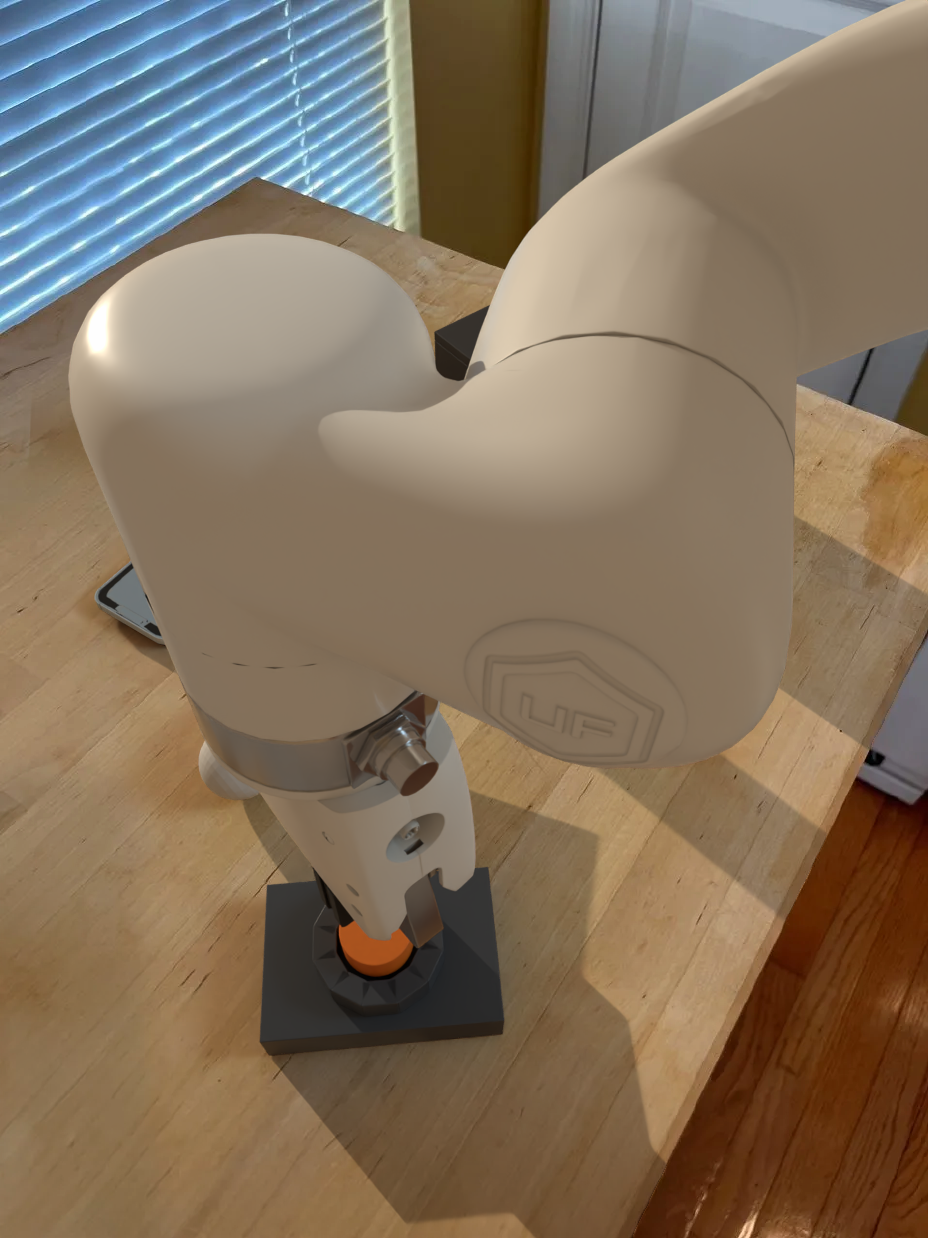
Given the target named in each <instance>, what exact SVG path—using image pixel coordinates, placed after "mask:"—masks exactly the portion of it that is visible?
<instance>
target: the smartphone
mask: <svg viewBox="0 0 928 1238" xmlns="http://www.w3.org/2000/svg"><path fill="white" fill-rule="evenodd" d="M94 601H95V603H96V605H97V607H98V608H99V610H101V611H103V612H104V613H106V614H107V615H109V616H111V617H113V618H114V619H116V620H118V621H119V622H121V623H123V624H124V625H126V626H128V627H129V628H131V629H133V630H135V631H137V632H138V633H140V634H141V635H143V636H144V637H146V638H148V639H150V640H151V641H153V642H155V643H156V644H158V645H165V642H164V640H163V638H162V635H161V633H160V631H159V628H158V626H157V623H156V621H155V619H154V616H153V614H152V611H151V609H150V607H149V604H148V602H147V599H146V597H145V594H144V591H143V589H142V586H141V584H140V582H139V579H138V577H137V574H136V572H135V570H134V567H133V565H132V562H131V560H130V561H129V562H128V563H126V564H125V565H124V566H123V567H122V568H121V569H119V570H118V571H117V572H116V573H114V574H113V576H111V577H110V578H109V579H107V581H106V582H104V583H103V584H102V585H101V586H100V587H98V588H97V589H96V591H95V593H94Z"/></svg>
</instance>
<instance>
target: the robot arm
mask: <svg viewBox="0 0 928 1238" xmlns="http://www.w3.org/2000/svg"><path fill="white" fill-rule="evenodd" d="M489 305H490V307H489V310H488V312H487V315H486V317H485V320H484V323H483V325H482V328H481V331H480V333H479V336H478V339H477V342H476V345H475V348H474V351H473V354H472V357H471V360H470V363H469V366H468V369H467V373H466V376H465V379H464V380H462V381H455V380H451V379H447V378H444V377H443V376H441V375H440V374H439V372H438V371H437V369H436V364H435V349H434V347H433V344H432V343H433V342H432V340H431V337H430V333H429V330H428V328H427V325H426V323H425V321H424V319H423V318H422V316H421V314H420V312H419V310H418V308H417V306H416V304H415V302H414V300H413V299H412V297H411V296H410V295H409V294H408V293H407V292H406V291H405V290H404V289H403V288H402V287H401V286H400V284H398V283H397V282H396V280H395V279H394V278H393V277H392V276H391V275H390V274H389V273H388V272H386V271H385V270H384V269H382V268H381V267H380V266H378V265H377V264H375V263H374V262H373V261H371V260H369V259H367V258H365V257H363V256H361V255H359V254H357V253H355V252H353V251H350V250H348V249H345V248H343V247H340V246H339V245H338V246H337V245H335V244H332V243H329V242H327V241H323V240H319V239H314V238H309V237H304V236H299V235H291V234H282V233H281V234H280V233H244V234H233V235H232V234H231V235H224V236H220V237H214V238H210V239H203V240H199V241H196V242H192V243H188V244H184V245H182V246H179V247H176V248H174V249H171V250H168V251H165V252H163V253H161V254H158V255H157V256H154V257H152V258H151V259H149V260H146V261H145V262H143V263H141V264H140V265H138V266H137V267H135V268H134V269H132V270H131V271H129V272H128V273H126V274H125V275H123V276H122V277H121V278H120V279H118V280H117V281H116V282H115V283H114V284H113V285H112V286H111V287H109V288H108V289H107V290H106V291H105V292H104V293H102V294H101V295H100V297H99V298H98V299H96V301H95V303H94V304H93V305H92V307H91V308H90V309H89V310H88V311H87V313H86V315H85V318H84V320H83V322H82V323H81V326H80V328H79V330H78V332H77V335H76V336H75V338H74V341H73V343H72V349H71V353H70V354H71V355H70V359H69V367H68V376H67V378H68V380H67V381H68V387H69V403H70V409H71V414H72V416H73V419H74V422H75V426H76V429H77V431H78V434H79V437H80V441H81V443H82V446H83V449H84V452H85V454H86V456H87V458H88V461H89V463H90V466H91V469H92V471H93V473H94V475H95V478H96V481H97V483H98V485H99V488H100V490H101V492H102V495H103V497H104V500H105V502H106V504H107V507H108V510H109V512H110V514H111V517H112V519H113V521H114V524H115V526H116V528H117V531H118V533H119V536H120V538H121V541H122V543H123V546H124V548H125V550H126V553H127V555H128V557H129V560H130V561H131V562H132V565H133V567H134V570H135V572H136V574H137V577H138V579H139V582H140V584H141V586H142V589H143V591H144V594H145V597H146V599H147V602H148V604H149V607H150V609H151V611H152V614H153V616H154V619H155V621H156V623H157V626H158V628H159V631H160V633H161V635H162V638H163V640H164V642H165V644H164V645H165V647H166V649H167V652H168V654H169V657H170V660H171V661H172V664H173V666H174V669H175V670H176V673H177V676H178V678H179V681H180V683H181V686H182V689H183V691H184V694H185V696H186V698H187V700H188V703H189V705H190V707H191V710H192V713H193V714H194V717H195V720H196V722H197V725H198V727H199V731H200V733H201V735H202V738H203V740H204V742H206V744H207V746H208V748H209V750H210V752H211V753H212V755H213V756H214V757H215V759H216V760H217V761H218V763H219V764H220V765H221V766H222V767H223V768H224V769H225V770H227V771H228V772H229V773H230V774H231V775H232V776H234V777H235V778H236V779H237V780H239V781H240V782H242V783H244V784H246V785H248V786H250V787H251V788H253V789H255V790H258V791H259V794H260V796H261V797H262V798H263V800H264V802H265V803H266V805H267V806H268V808H269V809H270V810H271V812H272V814H273V815H274V816H275V818H276V820H277V821H278V822H279V823H280V824H281V826H282V827H283V829H284V830H285V832H286V833H287V834H288V836H289V837H290V838H291V840H292V841H293V843H294V844H295V845H296V846H297V848H298V850H300V852H301V853H302V855H303V856H304V858H305V859H306V860H307V861H308V863H309V864H310V865H311V866H312V867H311V868H312V871H313V875H314V879H315V881H316V882H317V886H318V889H319V892H320V896H321V899H322V901H323V902H324V903H325V905H326V906H327V908H328V909H331V908H332V909H333V913H334V916H335V919H336V920H337V921H338V923H339V924H340V925H341V927H346V926H348V925H349V924H350V923H352V922H353V921H355V922H356V923H357V924H358V926H359V927H360V928H361V929H362V930H363V931H364V933H365V934H366V935H367V936H368V937H369V938H372V939H376V940H383V941H386V940H390V939H391V934H392V933H393V932H395V931H397V930H398V929H400V930H401V931H402V932H403V933H404V935H405V936H406V937H407V938H408V939H409V940H410V942H411V943H412V944H413V945H414V946H415V947H416V948H417V949H419V948H420V947H421V946H423V945H424V944H425V943H426V942H428V941H429V940H430V939H431V938H433V937H434V936H435V935H437V934H438V933H439V932H440V931H442V930H443V929H444V927H443V924H442V920H441V917H440V913H439V910H438V907H437V903H436V900H435V896H434V893H433V890H432V886H431V883H430V880H429V878H431V877H432V876H434V875H435V874H436V873H437V872H436V871H439V883H440V884H441V885H442V886H443V887H444V888H447V889H449V890H452V891H457V890H458V889H459V888H461V887H462V886H463V885H464V884H465V883H466V882H467V881H468V880H469V879H470V878H471V877H472V876H473V873H474V869H475V868H476V860H477V859H476V857H477V856H476V853H477V851H476V832H475V823H474V821H475V820H474V814H473V805H472V800H471V799H472V797H471V793H470V789H469V783H468V778H467V774H466V771H465V768H464V764H463V761H462V757H461V756H462V755H461V754H460V751H459V748H458V745H457V742H456V739H455V736H454V734H453V731H452V729H451V727H450V725H449V724H448V722H447V721H446V719H445V718H444V716H443V714H442V713H441V712H440V707H441V703H442V704H444V705H445V706H448V707H449V708H452V709H454V710H456V711H458V712H460V713H463V714H465V715H467V716H469V717H471V718H474V719H476V720H477V721H480V722H482V723H484V724H486V725H489V726H490V727H493V728H494V729H497V730H500V731H502V732H504V733H505V734H506V735H507V736H510V737H511V738H513V739H514V740H515V741H518V742H519V743H521V744H522V745H524V746H526V747H528V748H529V749H532V750H534V751H535V752H537V753H540V754H542V755H545V756H548V757H550V758H553V759H556V760H559V761H562V762H564V763H569V764H573V765H578V766H581V767H587V768H595V769H596V768H597V769H604V770H605V769H607V770H609V769H613V770H614V769H615V770H616V769H637V770H639V769H641V770H656V769H659V770H660V769H670V768H681V767H684V766H688V765H692V764H696V763H701V762H704V761H708V760H709V759H711V758H713V757H715V756H718V755H720V754H722V753H724V752H726V751H727V750H730V749H731V748H733V747H735V745H737V744H738V743H739V742H740V741H742V740H743V739H744V738H746V737H747V736H748V734H750V733H751V732H752V731H753V730H754V729H755V728H756V727H757V726H758V724H759V723H760V722H761V720H762V719H763V717H764V716H765V715H766V713H767V711H768V710H769V708H770V706H772V704H773V702H774V700H775V698H776V695H777V693H778V690H779V688H780V685H781V682H782V680H783V677H784V674H785V670H786V666H787V660H788V653H789V648H790V640H791V635H792V634H791V633H792V628H793V612H794V611H793V608H794V551H795V550H794V547H795V543H794V542H795V536H794V535H795V534H794V533H795V466H796V465H795V463H796V462H795V460H796V427H797V426H796V424H797V423H796V421H797V387H798V386H797V384H798V377H800V376H802V375H805V374H808V373H810V372H814V371H816V370H818V369H821V368H823V367H826V366H828V365H832V364H834V363H836V362H839V361H842V360H844V359H847V358H849V357H853V356H855V355H858V354H860V353H863V352H865V351H868V350H871V349H873V348H876V347H879V346H882V345H885V344H888V343H890V342H893V341H896V340H899V339H901V338H905V337H907V336H910V335H914V334H917V333H921V332H924V331H928V0H903V1H900V2H898V3H896V4H892V5H890V6H888V7H886V8H883V9H882V10H879V11H877V12H875V13H872V14H871V15H869V16H867V17H865V18H862V19H860V20H857V21H856V22H854V23H850V24H849V25H847V26H845V27H843V28H840V29H839V30H836V31H835V32H833V33H831V34H829V35H827V36H825V37H824V38H822V39H819V40H818V41H816V42H814V43H812V44H811V45H809V46H806V47H805V48H803V49H801V50H799V51H798V52H796V53H794V54H792V55H790V56H788V57H786V58H784V59H782V60H781V61H779V62H777V63H775V64H774V65H772V66H770V67H768V68H766V69H764V70H762V71H761V72H759V73H758V74H756V75H754V76H752V77H751V78H748V79H747V80H746V81H744V82H741V84H738V85H737V86H735V87H733V88H732V89H730V90H728V91H726V92H725V93H723V94H721V95H720V96H718V97H716V98H714V99H712V100H711V101H709V102H707V103H705V104H704V105H702V106H700V107H698V108H696V109H694V110H692V111H691V112H689V113H688V114H686V115H684V116H682V117H681V118H679V119H677V120H676V121H673V122H672V123H670V124H668V125H667V126H665V127H664V128H661V129H660V130H658V131H657V132H655V133H653V134H652V135H650V136H648V137H646V138H644V139H643V140H642V141H640V142H638V143H637V144H635V145H633V146H631V147H630V148H628V149H627V150H625V151H623V152H622V153H619V155H616V156H615V157H614V158H612V159H611V160H609V161H608V162H606V163H605V164H603V165H602V166H600V167H599V168H597V169H596V170H595V171H594V172H592V173H590V174H589V175H588V176H586V177H585V178H584V179H583V180H581V181H580V182H578V184H576V185H575V186H574V187H572V188H571V189H570V190H569V191H567V192H566V193H565V194H564V195H563V196H562V197H560V198H559V199H558V200H557V202H556V203H554V204H553V205H552V206H551V207H550V208H549V210H547V212H545V213H544V215H543V216H541V218H540V219H538V221H537V222H536V223H535V224H534V225H533V226H532V227H531V229H530V230H529V231H528V232H527V233H526V234H525V236H524V237H523V239H522V240H521V242H520V243H519V245H518V247H517V248H516V249H515V251H514V252H513V254H512V256H511V257H510V259H509V261H508V263H507V265H506V267H505V269H504V271H503V273H502V275H501V278H500V279H499V283H498V285H497V286H496V289H495V292H494V294H493V297H492V299H491V302H490V304H489Z"/></svg>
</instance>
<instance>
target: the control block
mask: <svg viewBox="0 0 928 1238" xmlns="http://www.w3.org/2000/svg"><path fill="white" fill-rule="evenodd" d="M436 872H437V873H436V874H435V875H434V876H432V877H431V878H429V880H430V883H431V886H432V890H433V893H434V896H435V900H436V903H437V907H438V910H439V913H440V917H441V920H442V924H443V927H444V929H443V930H442V931H440V932H439V933H438V934H437V935H435V936H434V937H433V938H431V939H430V940H429V941H428V942H426V943H425V944H424V945H423V946H421V947H420V948H419V949H417V948H416V947H415V946H414V945H413V949H412V952H411V954H410V956H409V958H408V960H407V961H406V962H405V964H404V965H403V966H402V967H401V968H399V969H398V970H396V971H395V972H393V973H391V974H388V975H385V976H378V977H374V976H368V975H364V974H362V973H360V972H358V971H357V970H355V969H354V968H353V967H352V966H351V965H350V964H349V962H348V961H347V959H346V957H345V954H344V951H343V948H342V945H341V942H340V938H339V926H340V924H339V923H338V921H337V920H336V919H335V916H334V913H333V909H332V908H331V909H328V908H327V906H326V905H325V903H324V902H323V901H322V899H321V896H320V892H319V889H318V886H317V882H316V880H308V881H307V880H306V881H297V882H284V883H283V882H282V883H272V884H271V883H270V884H267V885H266V891H265V892H266V895H265V917H264V937H263V938H264V939H263V961H262V964H263V965H262V980H261V1002H260V1003H261V1006H260V1009H261V1010H260V1023H259V1024H260V1027H259V1028H260V1029H259V1043H260V1045H261V1047H262V1048H263V1049H264V1051H265V1052H266V1053H267V1055H268V1056H270V1057H271V1056H278V1055H279V1056H281V1055H291V1054H302V1053H312V1052H325V1051H335V1050H347V1049H356V1048H369V1047H379V1046H390V1045H391V1046H392V1045H402V1044H414V1043H424V1042H435V1041H436V1042H437V1041H446V1040H447V1041H448V1040H459V1039H467V1038H469V1039H470V1038H480V1037H490V1036H502V1035H503V1034H504V1028H505V1010H504V1000H503V994H502V993H503V991H502V983H501V973H500V963H499V962H500V961H499V954H498V945H497V944H498V943H497V935H496V926H495V925H496V924H495V915H494V907H493V906H494V905H493V897H492V896H493V895H492V887H491V879H490V878H491V877H490V868H489V866H482V867H475V869H474V873H473V876H472V877H471V878H470V879H469V880H468V881H467V882H466V883H465V884H464V885H463V886H462V887H461V888H459V889H458V890H457V891H452V890H449V889H447V888H444V887H443V886H442V885H441V884H440V883H439V871H438V870H437V871H436Z"/></svg>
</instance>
